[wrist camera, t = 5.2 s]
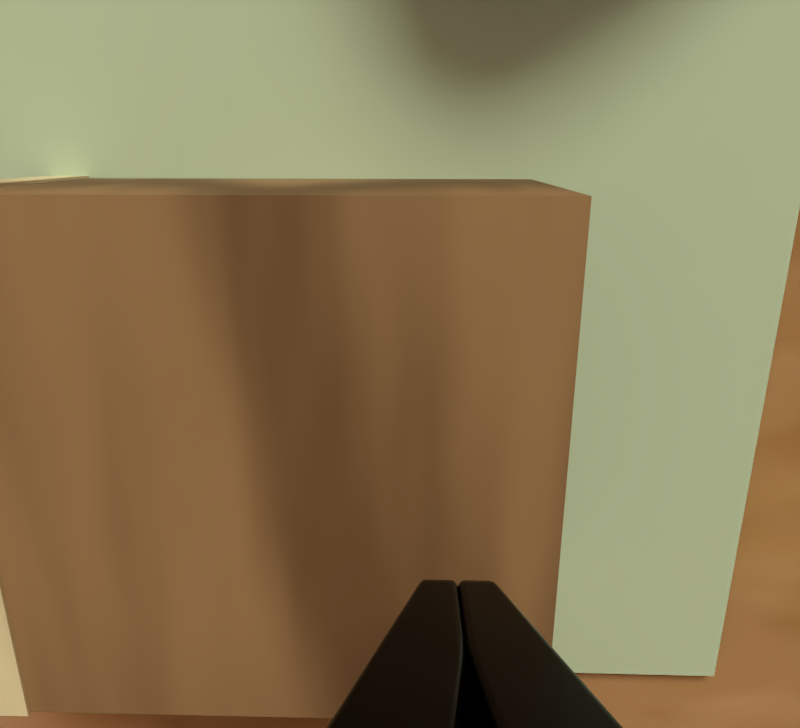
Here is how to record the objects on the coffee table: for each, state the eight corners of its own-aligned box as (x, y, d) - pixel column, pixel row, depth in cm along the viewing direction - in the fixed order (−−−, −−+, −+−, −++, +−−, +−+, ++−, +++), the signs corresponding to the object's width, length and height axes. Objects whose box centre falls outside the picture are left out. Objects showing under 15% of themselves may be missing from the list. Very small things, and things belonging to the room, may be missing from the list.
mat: (831, -11, 13) (840, -15, 12) (708, 667, 18) (714, 676, 17) (-91, -6, 13) (-103, -9, 13) (42, 651, 18) (35, 659, 18)
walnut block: (592, 192, 9) (-145, 190, 9) (545, 727, 12) (-17, 715, 12) (531, 176, 14) (51, 175, 14) (508, 557, 17) (109, 551, 17)
